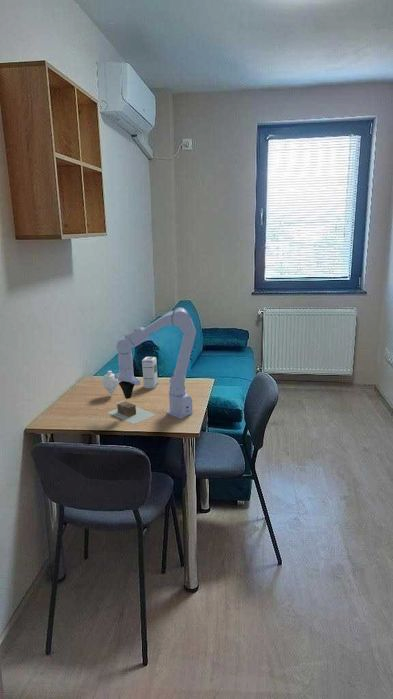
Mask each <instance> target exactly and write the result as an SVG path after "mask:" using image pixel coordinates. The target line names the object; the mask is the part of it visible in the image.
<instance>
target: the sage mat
mask: <svg viewBox="0 0 393 699" xmlns="http://www.w3.org/2000/svg"><path fill="white" fill-rule="evenodd" d="M106 413H107V414H110V415H112V416H113V417H116V418H118V419H120V420H123V421H125V422H128V423H129V424H132V425H135V424H137V423H140V422H143V421H144V420H147V419H150V418H152V417H155V416H157V414H156V413H153V412H150V411H148V410H145V409H142V408H140V407H138V406H136V414H135V415H133V416H130V417H127V416H125V415H122V414H120V413H118V412H117V408H115V409H112V410H110V411H107V412H106Z"/></svg>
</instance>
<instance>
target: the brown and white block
mask: <svg viewBox="0 0 393 699" xmlns="http://www.w3.org/2000/svg"><path fill="white" fill-rule="evenodd" d="M115 405H116V409H117V412H118V413H120V414H122V415H125V416H127V417H130V416H133V415H135V414H136V407H137V406H136V404H134V403H131V402H128V401H125V400H122V401H118V402H116V403H115Z"/></svg>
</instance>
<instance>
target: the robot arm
mask: <svg viewBox="0 0 393 699" xmlns="http://www.w3.org/2000/svg"><path fill="white" fill-rule="evenodd" d="M166 326H167V327H173V326H175V327H177V328H178V329H180V331H181V332H182V334H183V337H182V340H181V345H180V348H179V353H178V356H177V361H176V365H175V368H174V372H173V374H172V376H171V377H170V379H169V391H168V399H169V409H168V410H167V411H165V413H166V414H168V415H171V416H172V417H176V418H179V419H183V418H185V417H188V416H189V415H191V414H194V413H195V412H194V411H193V410H194V409H193V399H192V397H191V396H190V395H189V394H188V393H187V390H186V385H185V381H186V375H187V370H188V367H189V362H190V359H191V358H190V357H191V355H192V351H193V346H194V343H195V338H196V335H197V331H196V327H195V325H194V322H193V319H192V317H191V314H190V312H188V311H187V309H186V308H183V307H182V306H181V307H176V308H175V309H174V310H170V311H168V312H167V313H165V314H164V315H162V316H161V317H159V318H157V319H155V321H153V322H151V323H150V324H149V325H147V326H145V327H142V326H140V327H135V328H134V330H133V331H131V332H130V333H127V334H126V333H125V334H124V336H122V337H120V338H119V339H118V341H117V343H116V350H117V355H118V356H117V360H118V372H117V373H113V374H114V378H115V379H118V381H119V383H118V386H119V387H120V388H121V391H122V393H123V396H124V399H126V400H129V399H131V398H132V394H133V391H134V387H135V386H137V387H138V386H140V385H141V381H140V380H141V379H138V378H137V377H136V376H134V362H133V361H134V360H133V359H134V358H133V354H132V349H133V348H136V347H137V346H139V345H141V344H142V343H144V342H145V341H147V340H148V339H149V335H151V334H153V333H155V332H156V331H158V330H160V329H162V328H164V327H166Z"/></svg>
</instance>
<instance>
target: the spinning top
mask: <svg viewBox="0 0 393 699" xmlns="http://www.w3.org/2000/svg"><path fill="white" fill-rule="evenodd" d="M114 374H115V373H113V371H112V370H107V373H106V374H104V376H103V377H102V379H101V383H102V384H101V385H103V387H104V389H105V390H106V391H107V392H108V393H109V394H110V395H111V396H113V393H114V392H115V391H116V388H117V387H118V386H119V382H120V381H118V379H115V378H114Z"/></svg>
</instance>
